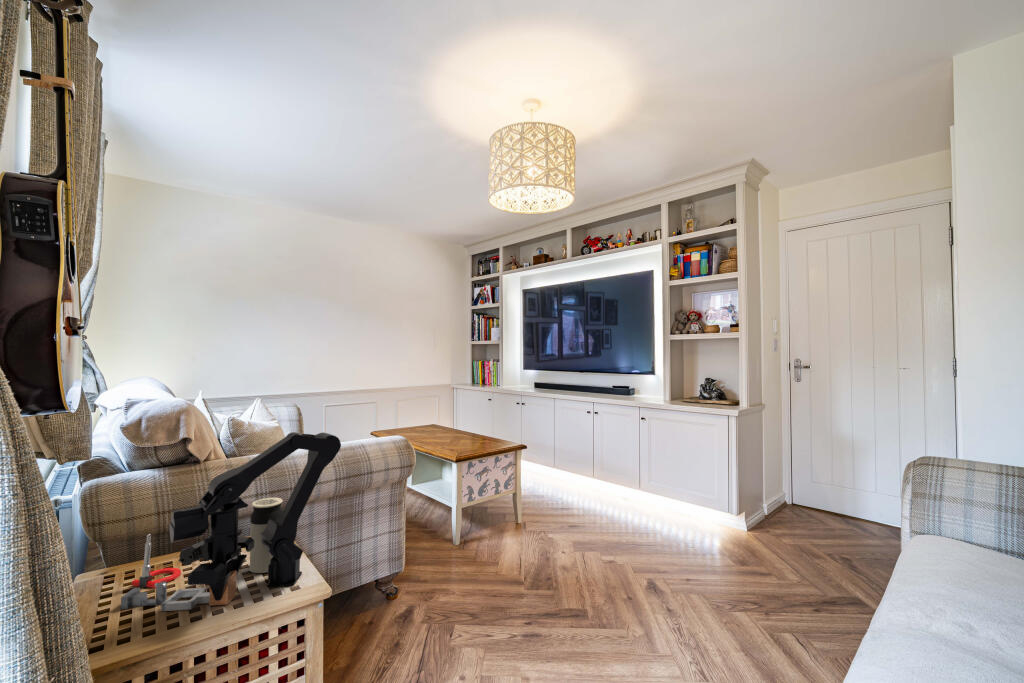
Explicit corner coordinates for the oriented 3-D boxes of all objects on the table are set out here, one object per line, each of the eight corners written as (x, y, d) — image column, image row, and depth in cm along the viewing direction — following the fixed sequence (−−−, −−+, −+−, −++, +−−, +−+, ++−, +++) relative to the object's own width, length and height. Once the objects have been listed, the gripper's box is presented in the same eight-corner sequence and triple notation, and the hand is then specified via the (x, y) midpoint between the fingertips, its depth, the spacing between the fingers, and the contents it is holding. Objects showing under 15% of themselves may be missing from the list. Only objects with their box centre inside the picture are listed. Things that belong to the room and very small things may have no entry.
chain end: (238, 592, 110) (238, 567, 110) (225, 607, 103) (225, 581, 104) (178, 595, 108) (178, 570, 108) (160, 611, 102) (161, 584, 102)
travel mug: (267, 575, 119) (268, 507, 119) (242, 572, 120) (243, 505, 121) (288, 562, 126) (290, 498, 127) (265, 558, 128) (266, 495, 129)
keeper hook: (171, 597, 108) (171, 579, 108) (159, 607, 104) (160, 587, 104) (133, 599, 107) (134, 580, 107) (120, 609, 103) (121, 589, 103)
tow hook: (161, 570, 122) (127, 586, 113) (165, 522, 123) (131, 534, 114) (188, 573, 121) (156, 590, 111) (191, 524, 121) (160, 537, 112)
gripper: (209, 516, 115) (208, 577, 115) (161, 548, 97) (160, 621, 96) (255, 514, 116) (254, 574, 116) (216, 545, 98) (215, 617, 98)
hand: (223, 595), depth 106 cm, fingers closed on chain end, 4 cm apart
